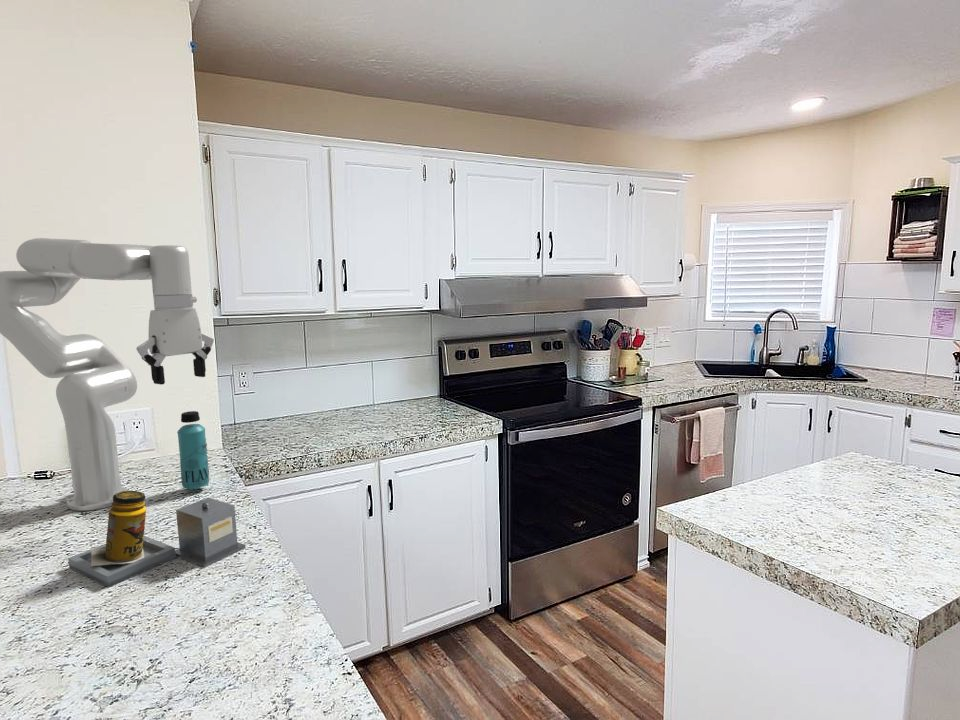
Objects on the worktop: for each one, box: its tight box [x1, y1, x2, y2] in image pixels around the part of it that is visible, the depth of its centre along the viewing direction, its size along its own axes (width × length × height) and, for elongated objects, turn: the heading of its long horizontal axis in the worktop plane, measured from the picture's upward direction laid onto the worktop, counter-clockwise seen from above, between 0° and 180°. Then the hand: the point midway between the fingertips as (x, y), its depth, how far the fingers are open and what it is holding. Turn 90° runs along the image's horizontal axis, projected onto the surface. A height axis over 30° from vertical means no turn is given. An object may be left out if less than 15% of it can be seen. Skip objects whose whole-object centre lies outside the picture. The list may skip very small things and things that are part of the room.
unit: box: [175, 497, 246, 568], centre depth 115 cm, size 10×9×10 cm
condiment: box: [90, 490, 147, 566], centre depth 111 cm, size 7×8×12 cm
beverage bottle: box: [176, 410, 211, 490], centre depth 147 cm, size 6×7×20 cm
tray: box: [67, 535, 177, 588], centre depth 112 cm, size 13×12×2 cm
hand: (180, 380), depth 132 cm, fingers open, 9 cm apart
